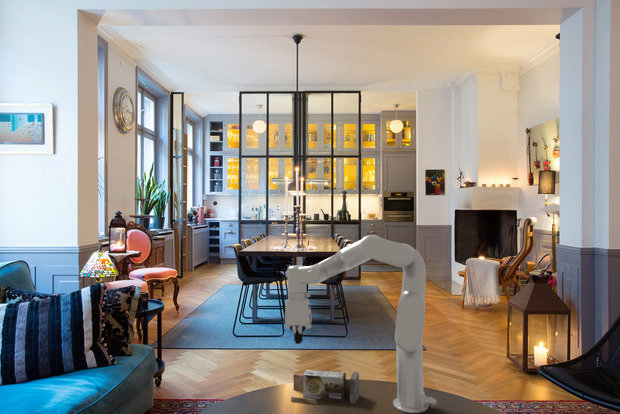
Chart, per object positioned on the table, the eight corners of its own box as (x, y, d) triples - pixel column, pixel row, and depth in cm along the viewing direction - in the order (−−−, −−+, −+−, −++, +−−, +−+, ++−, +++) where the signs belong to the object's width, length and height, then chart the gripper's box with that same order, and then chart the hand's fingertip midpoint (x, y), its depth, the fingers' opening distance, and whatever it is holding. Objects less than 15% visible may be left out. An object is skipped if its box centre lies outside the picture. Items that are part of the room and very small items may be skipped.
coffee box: (306, 392, 168) (346, 395, 165) (302, 398, 162) (344, 402, 159) (306, 369, 169) (346, 372, 166) (303, 374, 163) (344, 377, 159)
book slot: (359, 395, 165) (358, 372, 165) (353, 408, 153) (352, 383, 153) (294, 388, 172) (294, 366, 173) (283, 400, 160) (283, 376, 161)
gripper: (317, 295, 169) (319, 341, 168) (283, 295, 173) (284, 340, 172) (312, 298, 162) (314, 346, 161) (276, 297, 166) (277, 344, 165)
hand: (298, 343), depth 166 cm, fingers closed
